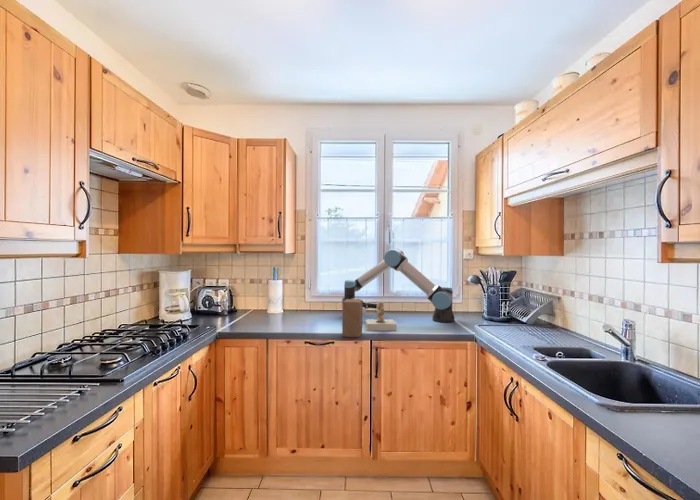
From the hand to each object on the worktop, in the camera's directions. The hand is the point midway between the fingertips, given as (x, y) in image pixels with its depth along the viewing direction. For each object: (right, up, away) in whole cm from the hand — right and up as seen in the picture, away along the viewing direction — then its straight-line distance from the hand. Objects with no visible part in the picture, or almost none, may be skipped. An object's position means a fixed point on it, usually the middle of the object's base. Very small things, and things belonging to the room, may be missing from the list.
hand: (374, 309), depth 234 cm
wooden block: (-14, -11, -23) cm, 29 cm away
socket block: (+4, -11, -5) cm, 13 cm away
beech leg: (+4, -11, -5) cm, 13 cm away
